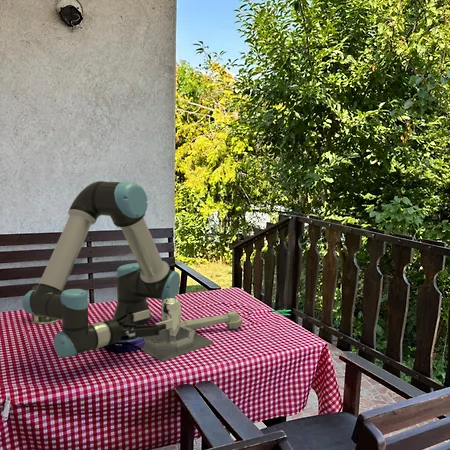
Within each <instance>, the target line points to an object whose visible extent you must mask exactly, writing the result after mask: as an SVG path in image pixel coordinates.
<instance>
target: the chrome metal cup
mask: <svg viewBox="0 0 450 450" xmlns="http://www.w3.org/2000/svg"><path fill="white" fill-rule="evenodd" d="M160 301H161V307H160V308H161V309H160V310H161V311H160V314H161V316H160V317H161V322H163V321H166V320H170V319H172V320H173V327H172V328H169V329H165V330H164V341H172V342H175V341H178V340H181V339H180V334H179V328H180V322H182V321H181V320H182V307H181V300H180V298H176V297H175V298H168V299H164V300H160Z"/></svg>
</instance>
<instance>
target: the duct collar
mask: <svg viewBox="0 0 450 450" xmlns="http://www.w3.org/2000/svg"><path fill="white" fill-rule="evenodd" d="M179 334H180V339H181V340H178V341H175V342H172V341H164V330H162V331H159V335H155V336H146V337H143V338H144V340H145V345H143V346H141V350H140V351H142V352H144V353H146V354H148V355H149V356H151V357H153V358H155V359H157V360H158V361H160V362H165V361H168V360H171V359H173V358H176V357H179V356H181V355H184V354H188V353H191V352H193V351H196V349H197V350H199V349H202V348H205V347H208V346H211V345H213V344H214V340H212V339H209V338H207V337H205V336H202V335H201V334H198V333H196V329H195V330H193V329H191V328H188V327H186V326H183V327H180V328H179Z"/></svg>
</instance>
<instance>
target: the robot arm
mask: <svg viewBox="0 0 450 450" xmlns="http://www.w3.org/2000/svg"><path fill="white" fill-rule="evenodd" d="M147 201H148V196H147V193H146V191H145V189H144V188H143V187H142V186H141V185H140V184H138V183H136V182H130V181H104V180H103V181H101V180H100V181H95V182H92V183H90V184H88V185H87V186H85V188H83V189H82V190H81V191H80V192H79V193H78V194H77V196H76V197H75V198H74V200H73V202H72V203H71V205H70V207H69V209H68V212H67V214H68V215H69V216H68V218H67V221H66V223H65V226H64V228H63V230H62V232H61V234H60V236H59V238H58V240H57V242H56V246H55V247H54V250H53V252H52V253H51V256H50V258H49V260H48V262H47V265H46V267H45V269H44V272H43V274H42V276H41V277H40V280H39V282H38V284H37V285H38V286H37V289H36V290H32V289H31V290H29V291H28V292H27V293H26V294H25V295H24V296H23V299H22V308H23V310H24V312H26V314H29V315H30V314H31V315H33V316H34V315H36V316H43V317H49V318H53V319H59V321H61V325H62V326H61V331H59V332H58V333H56V334H55V336H54V339H53V346H54V350H55V353H56V354H57V356H59V357H60V358H68V357H72V356H73V357H74V356H77V355H78V354H79V355H80V354H82V353H85V352H89V351H92V350H98V349H100V348H103V347H105V346H108V345H113V344H116V343H119V342H120V340H121V338H123V337H128V339H132V338H136V337H146V336H155V335H159V331H162V330H165V329H169V328H172V327H173V320H172V319H170V320H166V321H163V322H162V321H160V322H156V323H155V324H146V323H148V322H150V321H151V320H152V312H151V310H150V306H149V304H148V301H147V300H148V299H152V300H157V301H158V300H159V301H162V300H164V299H168V298H176V296H177V295H178V292H179V289H180V287H181V276H180V273H179V272H178V271H176V270H171V267H170V266H169V263H167V261H165V260H162V257H161V255H160V252H159V250H158V248H157V245H156V243H155V241H154V239H153V235H152V234H151V232H150V230H149V227H148V225H147V223H146V221H145V219H144V217H145V216H146V212H147V208H148V205H149V204H148V202H147ZM101 216H106V217H107V216H109V217H110V219H111V221H112V223H113V225H114V226H115V227H117V228H120V229H121V231H122V234H123V235H124V237H125V240H126V241H127V243H128V246H129V247H130V249H131V251H132V254H133V256H134V258H135V259H136V262H135V263H134V262H132V263H127V264H123V265H120V266H119V267H118V268H117V269H116V277H115V278H116V290H117V291H116V294H117V298H116V299H117V303H116V306H115V310H114V313H113V318H112V319H108V320H104V321H99V322H95V323H93V324H92V323H91V324H89V301H88V294H87V291H86V290H84V289H82V288H70V289H66V290H65V289H64V288H65V286H66V284H67V281H68V279H69V276H70V274H71V272H72V270H73V267H74V265H75V263H76V261H77V259H78V256H79V254H80V251H81V249H82V247H83V245H84V242H85V240H86V237H87V235H88V233H89V231H90V229H91V226H92V225H95V224H96V222H97V219H98V218H99V217H101Z"/></svg>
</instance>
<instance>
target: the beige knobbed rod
mask: <svg viewBox="0 0 450 450" xmlns="http://www.w3.org/2000/svg"><path fill="white" fill-rule="evenodd" d="M242 321H243V319H242V317H240V315H239V312H238V311H236V310H235V311H233V310H232V311H230V312H229V311H228V312H227V313H226V314H219V315H213V316H206V317H200V318H194V319H188V320H187V319H185V320H183V321H180V327H183V326H186V327H188V328H191V329H193V330H195V331H196V330H198V329H202V328H203V329H204V328H208V327H212V326H216V325H220V324H226V327H227V329H228V330H232V329H234V330H235V329H239V327H240V328H241V327H242Z"/></svg>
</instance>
